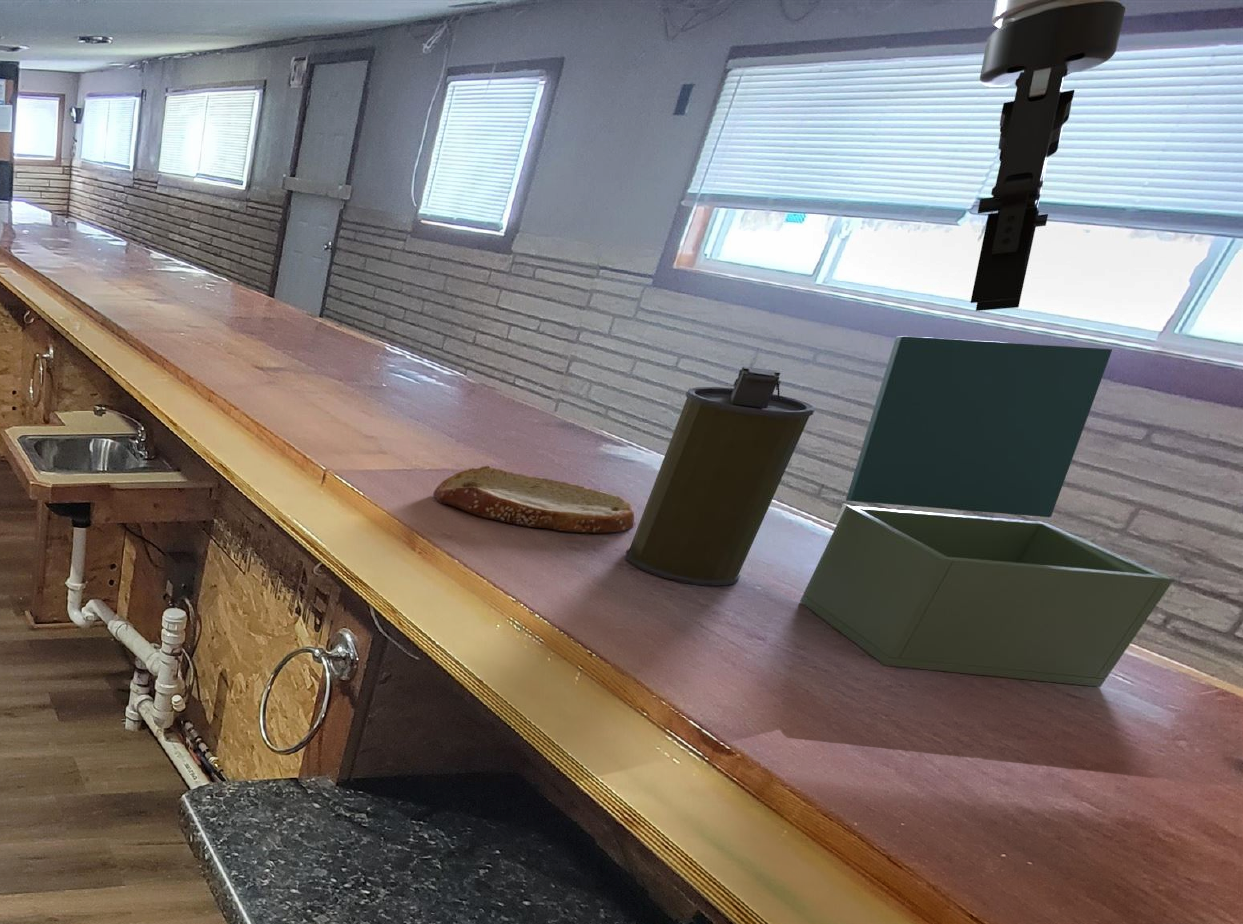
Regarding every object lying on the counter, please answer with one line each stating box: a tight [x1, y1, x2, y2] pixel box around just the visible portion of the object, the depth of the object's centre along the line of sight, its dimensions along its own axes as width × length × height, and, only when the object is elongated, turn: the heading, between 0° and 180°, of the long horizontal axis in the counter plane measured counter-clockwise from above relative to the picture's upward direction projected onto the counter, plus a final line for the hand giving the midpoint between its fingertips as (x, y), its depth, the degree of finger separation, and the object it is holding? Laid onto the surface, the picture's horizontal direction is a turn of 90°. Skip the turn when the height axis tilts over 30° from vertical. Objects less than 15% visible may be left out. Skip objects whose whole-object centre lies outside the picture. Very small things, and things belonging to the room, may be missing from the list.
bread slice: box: [433, 465, 636, 534], centre depth 115 cm, size 18×18×4 cm
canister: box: [625, 366, 816, 587], centre depth 97 cm, size 11×10×20 cm
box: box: [799, 505, 1175, 688], centre depth 86 cm, size 14×17×10 cm
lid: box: [845, 335, 1113, 518], centre depth 89 cm, size 14×17×4 cm
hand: (995, 305), depth 82 cm, fingers open, 13 cm apart
